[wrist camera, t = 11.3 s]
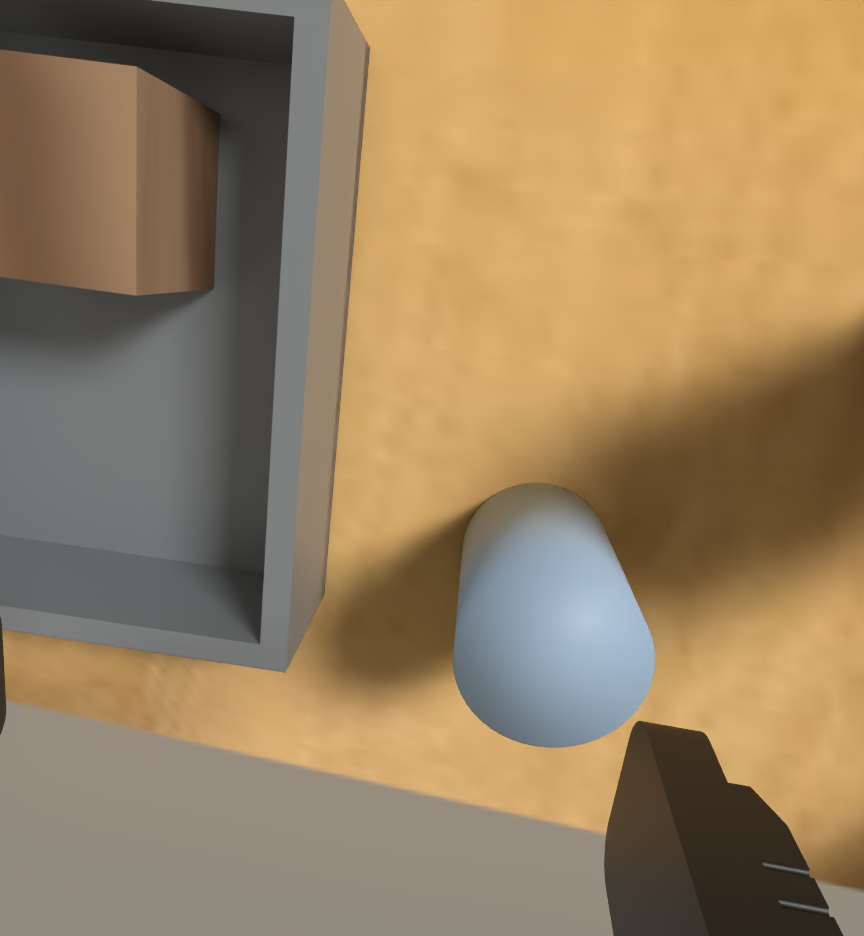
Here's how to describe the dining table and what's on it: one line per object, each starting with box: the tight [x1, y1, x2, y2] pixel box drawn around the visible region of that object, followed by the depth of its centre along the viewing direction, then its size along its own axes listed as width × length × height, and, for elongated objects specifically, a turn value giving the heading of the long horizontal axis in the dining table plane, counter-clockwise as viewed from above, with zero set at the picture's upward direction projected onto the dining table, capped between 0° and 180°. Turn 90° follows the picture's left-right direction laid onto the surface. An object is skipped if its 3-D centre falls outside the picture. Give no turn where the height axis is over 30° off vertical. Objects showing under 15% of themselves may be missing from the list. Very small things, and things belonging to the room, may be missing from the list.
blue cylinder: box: [453, 483, 655, 748], centre depth 21 cm, size 5×5×7 cm
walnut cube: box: [0, 49, 220, 296], centre depth 19 cm, size 5×5×5 cm
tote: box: [0, 0, 370, 672], centre depth 20 cm, size 14×18×5 cm
